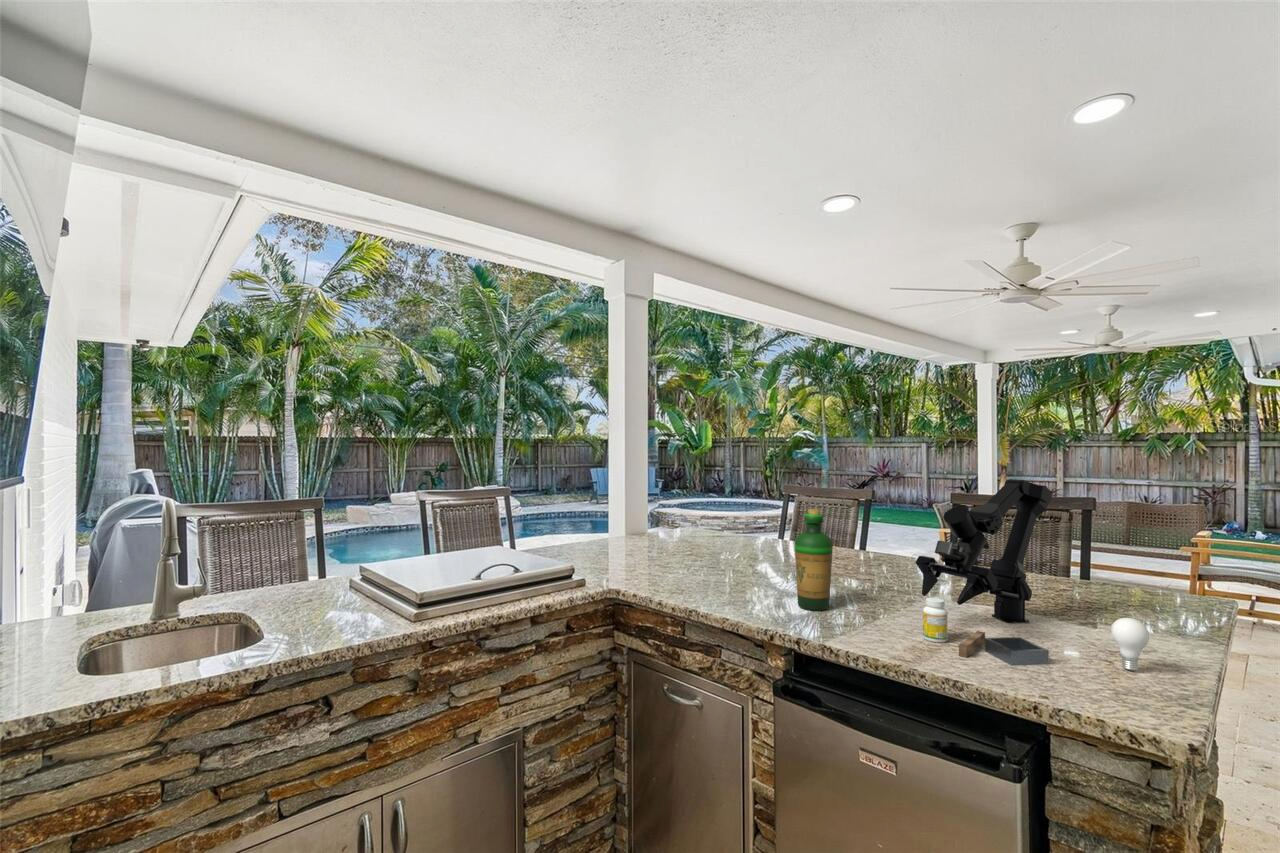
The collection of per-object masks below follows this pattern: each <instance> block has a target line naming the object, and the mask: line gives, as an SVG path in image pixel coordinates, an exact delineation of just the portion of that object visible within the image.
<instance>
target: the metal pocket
mask: <svg viewBox="0 0 1280 853" xmlns="http://www.w3.org/2000/svg"><path fill="white" fill-rule="evenodd" d="M984 652H985V653H988V654H989V655H991V656H993V657H995V658H997V659H999V660H1000V661H1001V662H1002V661H1003V662H1004V663H1006V664H1008V665H1010V666H1034V665H1035V666H1037V665H1049V663H1050V662H1049V658H1050V656H1049V654H1050V652H1049V650H1048V649H1046V648H1044V647H1042V646H1040V645H1038V644H1036V643H1034V642H1031V641H1029V640H1027V639H1024V638H1023V637H1019V636H1017V637H1016V636H1015V637H985V643H984Z"/></svg>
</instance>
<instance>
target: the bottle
mask: <svg viewBox="0 0 1280 853" xmlns="http://www.w3.org/2000/svg"><path fill="white" fill-rule="evenodd" d="M803 518H804V520H803V522H804V523H805V528H806V529H805V530H804V531H802V532H800V533H799V534H797V536H796V538H795V539H794V555H795V574H796V592H797V593H796V595H797V596H796V597H797V605H798V607H800V608H801V609H803V610H807V611H811V612H812V611H813V612H822V611H826V610H827V609H829V608H830V598H831V597H830V595H831V582H832V581H831V580H832V564H833V552H834V550H833V549H834V548H833V547H834V542H833V541H832V539H831V538H830V536H828V535H827V534H826V533H825V532H824V531H822V524H823V523H824V518H823V514H822V513H820V509H819V508H808V509H807V513H805V514H804V517H803Z"/></svg>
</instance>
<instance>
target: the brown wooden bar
mask: <svg viewBox="0 0 1280 853" xmlns="http://www.w3.org/2000/svg"><path fill="white" fill-rule="evenodd" d="M985 638H986V632H984V631H979V630H977V631H975V632H974V633H973V634H972V635H970V636H969V637H966V639H964V640H963V641H962V642H960V643H959V644H958V656H959V657H962V658H965V659H967V658H968V657H970V656H971V655H972V654H973V653H975V652H976V651H977V650H979V649H980V648H981V647H982V646H984V645H985Z"/></svg>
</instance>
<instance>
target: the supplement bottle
mask: <svg viewBox="0 0 1280 853" xmlns="http://www.w3.org/2000/svg"><path fill="white" fill-rule="evenodd" d="M925 603H926V605H925V607H923V610H922V637H923V639H925V640H926V641H928V642H932V643H941V644H942V643H946V642H947V641H948V611H947V609H945V608H944V607H945V600H944V599H943V598H938V597H927V598H926V599H925Z"/></svg>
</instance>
